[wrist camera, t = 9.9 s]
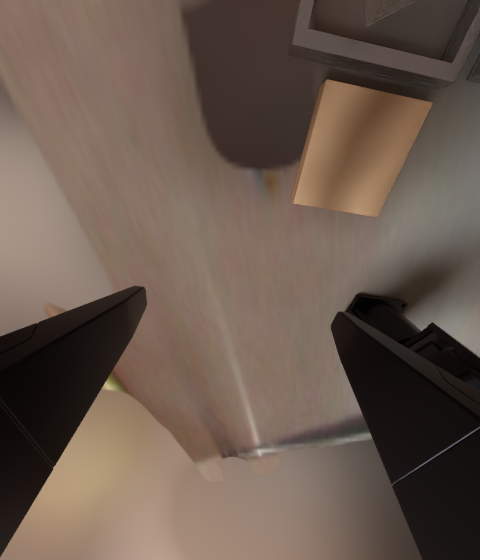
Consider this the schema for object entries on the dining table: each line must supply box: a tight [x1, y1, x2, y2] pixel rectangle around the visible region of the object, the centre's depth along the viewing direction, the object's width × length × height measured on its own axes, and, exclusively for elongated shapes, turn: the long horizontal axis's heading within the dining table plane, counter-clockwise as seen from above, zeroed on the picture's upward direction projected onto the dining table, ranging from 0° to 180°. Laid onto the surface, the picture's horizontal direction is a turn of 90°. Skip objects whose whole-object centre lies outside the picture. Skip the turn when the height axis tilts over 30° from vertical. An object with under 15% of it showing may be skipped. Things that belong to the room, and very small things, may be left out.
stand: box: [290, 79, 433, 217], centre depth 16 cm, size 8×8×1 cm
